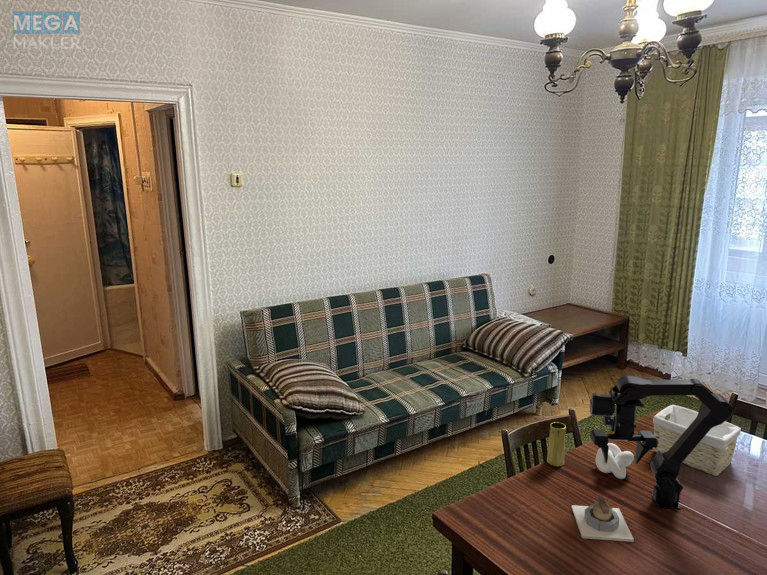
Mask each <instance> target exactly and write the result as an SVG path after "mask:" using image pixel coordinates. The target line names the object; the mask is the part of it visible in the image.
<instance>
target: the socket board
mask: <svg viewBox="0 0 767 575" xmlns="http://www.w3.org/2000/svg"><path fill="white" fill-rule="evenodd" d="M593 507H594V504H590V505H589V506H588V505H576V504H575V505H574V504H573V505H571V511H572V513H573V516H574V520H575V522H576V526H577V527H578V530H579V533H580V536H581V538H582V539H591V540H603V541H615V542H618V541H619V542H631V543H633V542H635V539H634V536H633V534H632V532H631V531H630V529H629V526H628V525H627V524H628V523H627V522H626V519H625V518H624V516H623V513H622V512H621V509H620V508H619V507H618V508H617V507H612V514H611V521H610V522H604V521H599V520H597V519H595V518H593Z"/></svg>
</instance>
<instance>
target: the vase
mask: <svg viewBox="0 0 767 575" xmlns="http://www.w3.org/2000/svg"><path fill="white" fill-rule="evenodd" d="M566 433H567V426H566V424H565V423H562V422H559V421H554V422H551V423H550V425H549V436H548V438H549V439H548V449H547V456H546V457H547V458H546V462H547V463H548V464H549V465H551V466H553V467H562V466H564V465H565V464H566V463H565V457H566V456H565V455H566V435H567V434H566Z"/></svg>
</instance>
